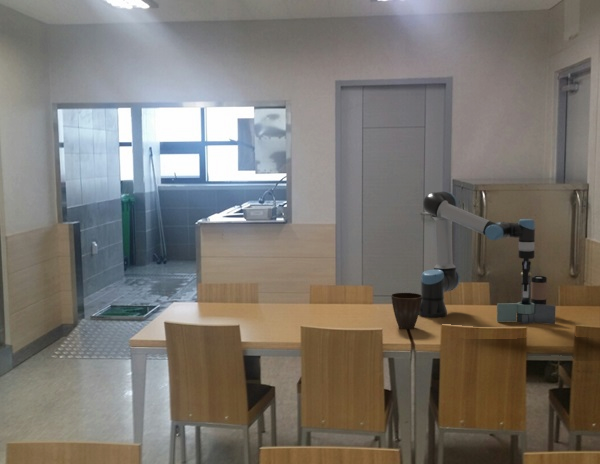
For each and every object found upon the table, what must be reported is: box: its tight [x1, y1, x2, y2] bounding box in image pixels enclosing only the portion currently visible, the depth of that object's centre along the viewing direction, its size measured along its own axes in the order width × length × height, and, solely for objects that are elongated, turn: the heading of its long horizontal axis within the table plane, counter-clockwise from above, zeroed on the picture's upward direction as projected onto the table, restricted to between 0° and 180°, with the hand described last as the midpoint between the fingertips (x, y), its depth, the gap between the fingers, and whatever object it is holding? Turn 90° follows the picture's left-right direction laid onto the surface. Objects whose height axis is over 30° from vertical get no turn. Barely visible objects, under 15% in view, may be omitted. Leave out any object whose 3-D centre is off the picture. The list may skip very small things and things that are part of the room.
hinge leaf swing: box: [496, 301, 535, 323], centre depth 339 cm, size 18×8×9 cm, turn 87°
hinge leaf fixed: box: [516, 304, 557, 325], centre depth 337 cm, size 18×8×9 cm, turn 67°
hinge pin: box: [520, 271, 533, 305], centre depth 338 cm, size 5×5×16 cm
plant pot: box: [390, 292, 422, 330], centre depth 331 cm, size 15×15×16 cm
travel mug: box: [530, 275, 548, 305], centre depth 354 cm, size 8×8×20 cm
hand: (525, 296), depth 338 cm, fingers closed on hinge pin, 4 cm apart
